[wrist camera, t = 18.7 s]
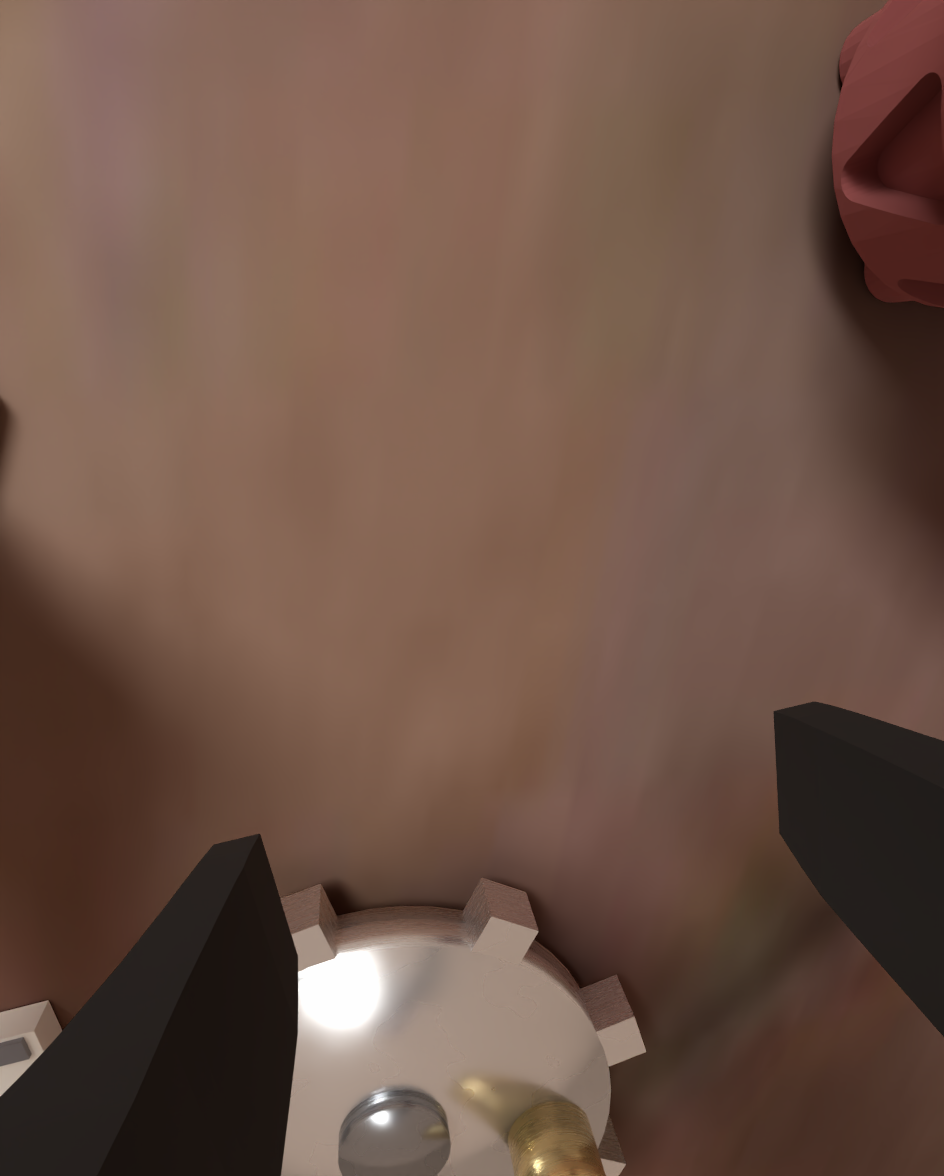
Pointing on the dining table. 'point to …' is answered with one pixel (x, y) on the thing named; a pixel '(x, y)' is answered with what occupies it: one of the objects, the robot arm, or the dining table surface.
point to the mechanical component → (894, 149)
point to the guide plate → (24, 1039)
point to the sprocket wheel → (448, 1045)
